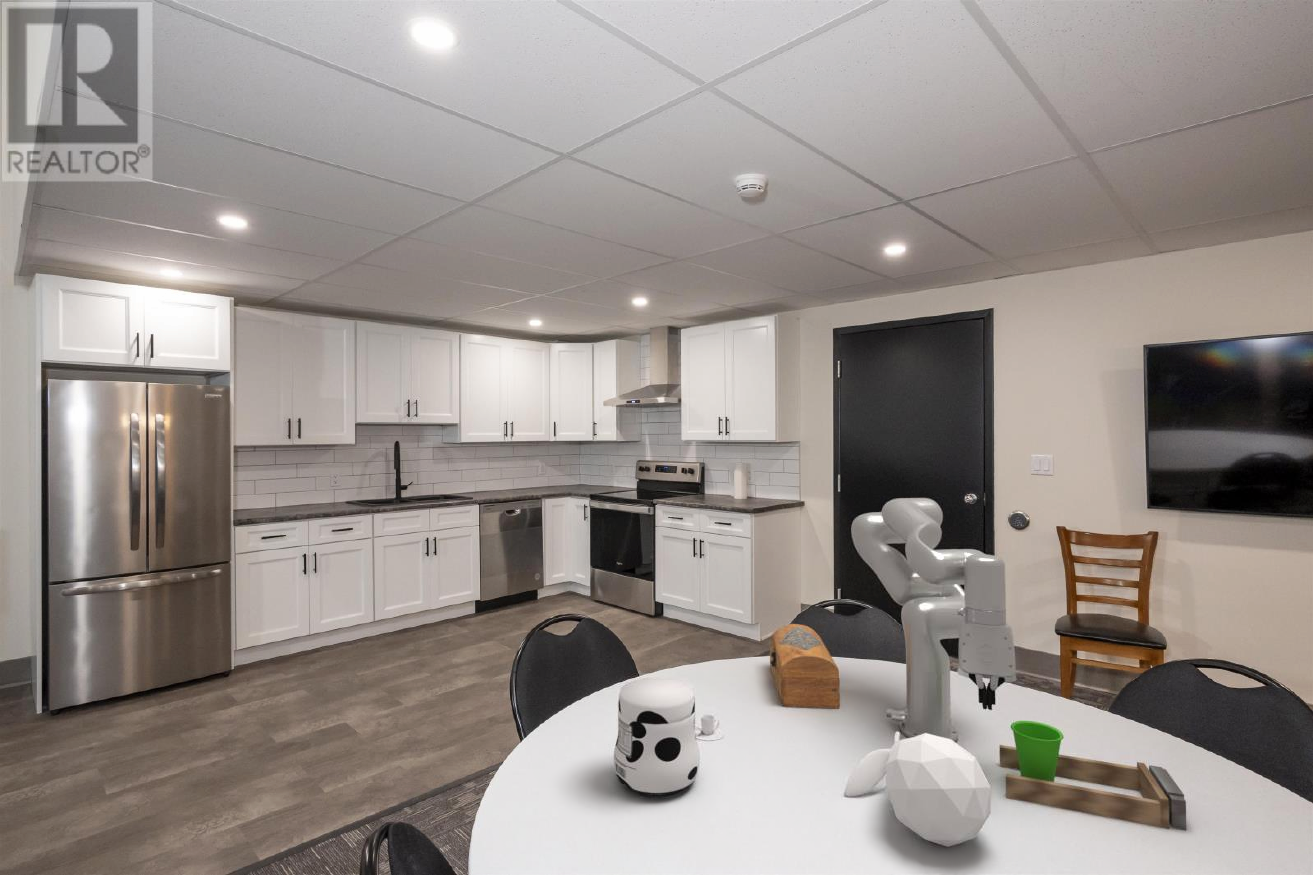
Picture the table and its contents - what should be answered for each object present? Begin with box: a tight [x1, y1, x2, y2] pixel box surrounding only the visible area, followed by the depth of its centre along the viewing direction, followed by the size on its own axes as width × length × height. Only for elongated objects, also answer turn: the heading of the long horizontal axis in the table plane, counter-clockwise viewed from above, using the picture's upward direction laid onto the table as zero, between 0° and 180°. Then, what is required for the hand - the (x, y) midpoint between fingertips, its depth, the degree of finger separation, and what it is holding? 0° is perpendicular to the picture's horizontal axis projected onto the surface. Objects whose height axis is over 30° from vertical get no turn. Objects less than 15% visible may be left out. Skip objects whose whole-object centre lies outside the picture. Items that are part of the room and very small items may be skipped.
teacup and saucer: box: [695, 714, 726, 742], centre depth 151 cm, size 9×8×4 cm
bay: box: [999, 744, 1187, 831], centre depth 124 cm, size 28×14×5 cm, turn 67°
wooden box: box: [769, 623, 841, 709], centre depth 181 cm, size 30×16×14 cm, turn 175°
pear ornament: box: [844, 731, 992, 848], centre depth 116 cm, size 16×22×28 cm
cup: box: [1010, 720, 1065, 782], centre depth 127 cm, size 9×9×11 cm
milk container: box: [613, 677, 701, 796], centre depth 130 cm, size 17×17×18 cm
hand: (987, 707), depth 131 cm, fingers closed
